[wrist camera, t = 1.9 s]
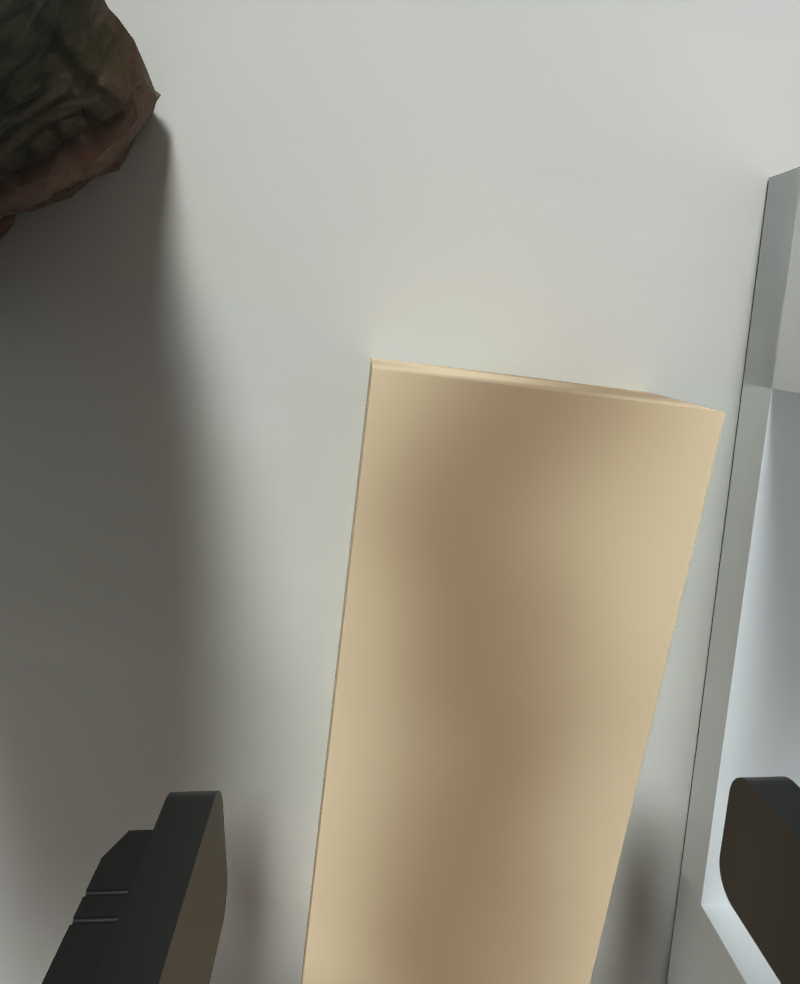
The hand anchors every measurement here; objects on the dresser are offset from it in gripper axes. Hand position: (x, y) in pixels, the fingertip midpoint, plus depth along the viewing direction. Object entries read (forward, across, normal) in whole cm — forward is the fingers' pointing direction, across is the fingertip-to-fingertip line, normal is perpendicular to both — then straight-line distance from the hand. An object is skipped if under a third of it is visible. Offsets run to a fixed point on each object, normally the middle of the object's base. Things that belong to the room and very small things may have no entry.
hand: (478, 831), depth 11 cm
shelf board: (+5, 0, 0) cm, 5 cm away
